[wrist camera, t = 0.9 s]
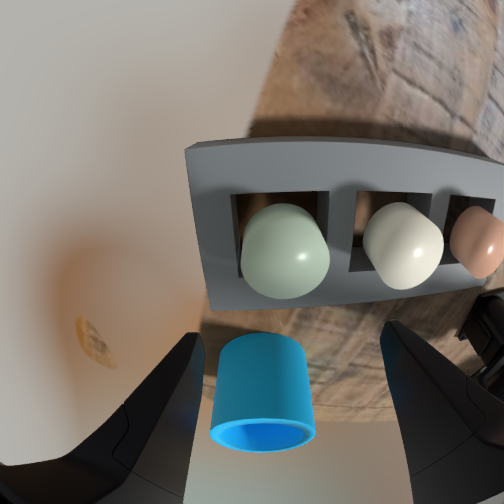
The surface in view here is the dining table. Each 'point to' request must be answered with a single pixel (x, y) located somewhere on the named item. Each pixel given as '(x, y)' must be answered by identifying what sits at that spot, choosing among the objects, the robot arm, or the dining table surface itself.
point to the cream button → (402, 245)
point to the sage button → (283, 252)
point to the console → (330, 208)
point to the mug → (262, 395)
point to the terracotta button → (478, 241)
